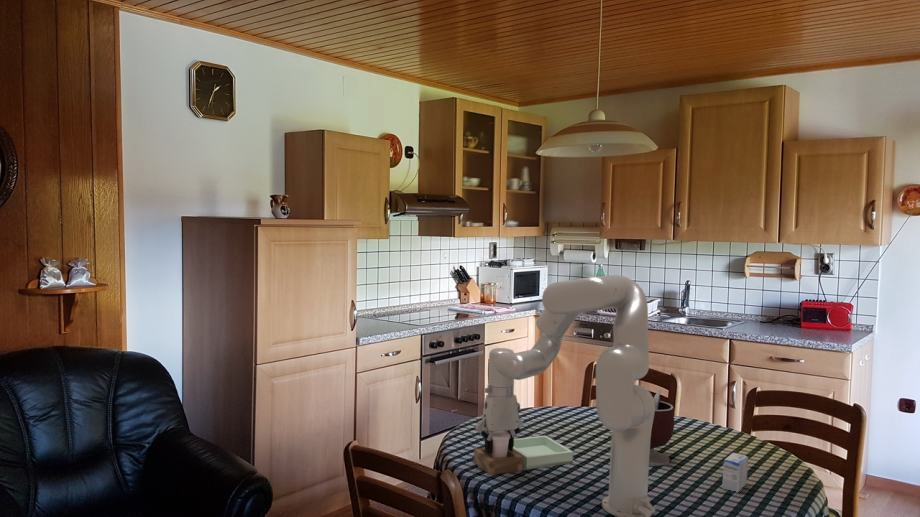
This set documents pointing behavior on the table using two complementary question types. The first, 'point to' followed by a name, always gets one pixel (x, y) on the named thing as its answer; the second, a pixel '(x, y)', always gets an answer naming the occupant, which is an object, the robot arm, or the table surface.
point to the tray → (542, 452)
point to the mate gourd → (661, 431)
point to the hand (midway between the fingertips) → (499, 450)
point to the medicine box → (735, 472)
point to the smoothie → (500, 444)
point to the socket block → (498, 462)
